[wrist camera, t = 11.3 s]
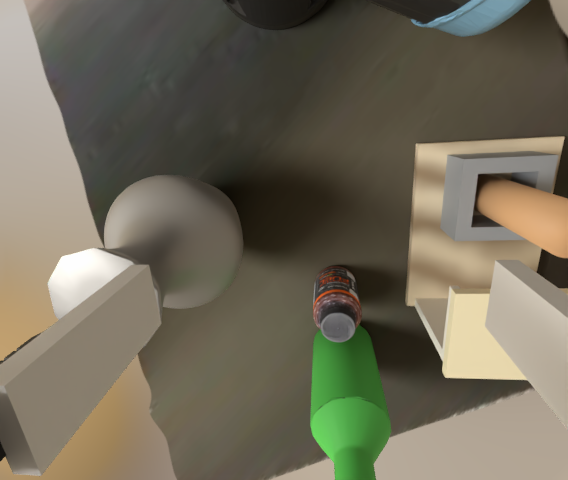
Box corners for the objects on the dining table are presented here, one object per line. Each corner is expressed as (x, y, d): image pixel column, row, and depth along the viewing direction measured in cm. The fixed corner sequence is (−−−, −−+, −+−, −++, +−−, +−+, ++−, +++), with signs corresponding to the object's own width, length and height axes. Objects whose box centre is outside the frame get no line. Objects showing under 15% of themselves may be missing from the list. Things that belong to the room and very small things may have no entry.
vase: (184, 270, 51) (67, 399, 27) (145, 177, 46) (-34, 235, 23) (275, 247, 48) (232, 369, 24) (242, 146, 44) (152, 177, 20)
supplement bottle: (348, 259, 47) (356, 299, 37) (361, 295, 49) (372, 343, 38) (308, 271, 49) (305, 313, 38) (322, 305, 50) (322, 355, 40)
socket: (447, 154, 40) (464, 159, 36) (530, 150, 39) (558, 154, 35) (440, 228, 43) (454, 241, 39) (516, 226, 42) (541, 239, 38)
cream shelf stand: (415, 242, 44) (455, 293, 31) (539, 240, 43) (636, 293, 29) (410, 306, 47) (445, 377, 34) (525, 306, 46) (608, 382, 33)
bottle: (302, 342, 53) (286, 519, 29) (339, 306, 50) (356, 470, 26) (344, 374, 54) (361, 569, 30) (383, 340, 51) (436, 527, 28)
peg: (464, 174, 41) (549, 205, 26) (502, 172, 40) (612, 203, 25) (460, 209, 42) (538, 258, 27) (497, 208, 42) (598, 257, 27)
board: (416, 143, 41) (418, 144, 40) (557, 136, 39) (564, 136, 38) (405, 301, 49) (407, 305, 47) (524, 301, 47) (529, 306, 46)
